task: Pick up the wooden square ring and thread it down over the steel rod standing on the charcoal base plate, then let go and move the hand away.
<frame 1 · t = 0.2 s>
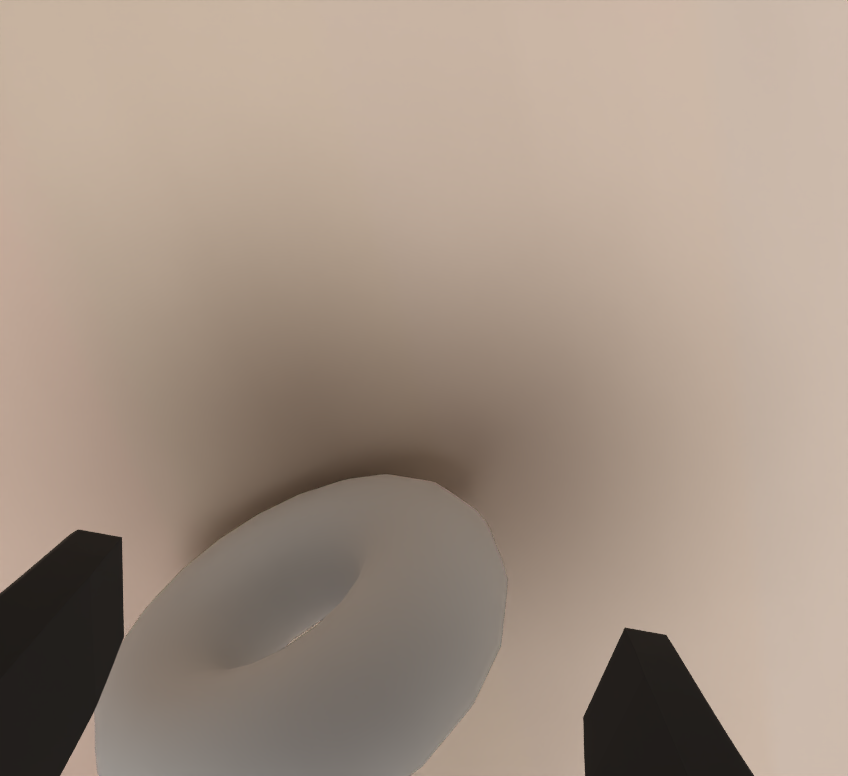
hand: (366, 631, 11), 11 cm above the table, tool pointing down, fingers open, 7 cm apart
donut: (334, 516, 23), on the table
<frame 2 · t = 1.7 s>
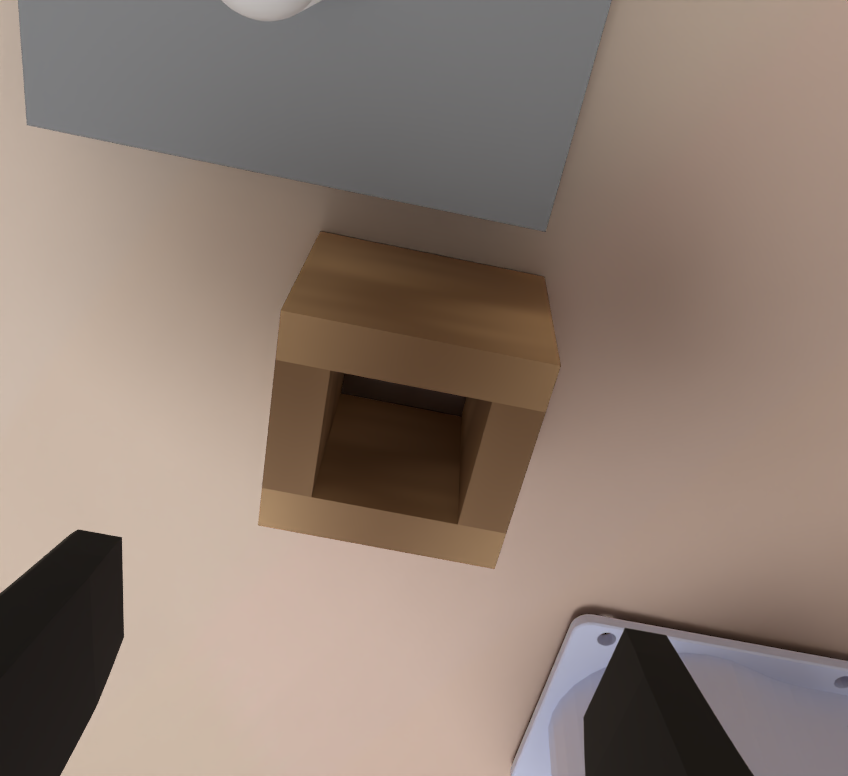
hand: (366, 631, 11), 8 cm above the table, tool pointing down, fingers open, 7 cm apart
wooden square ring: (412, 352, 18), on the table
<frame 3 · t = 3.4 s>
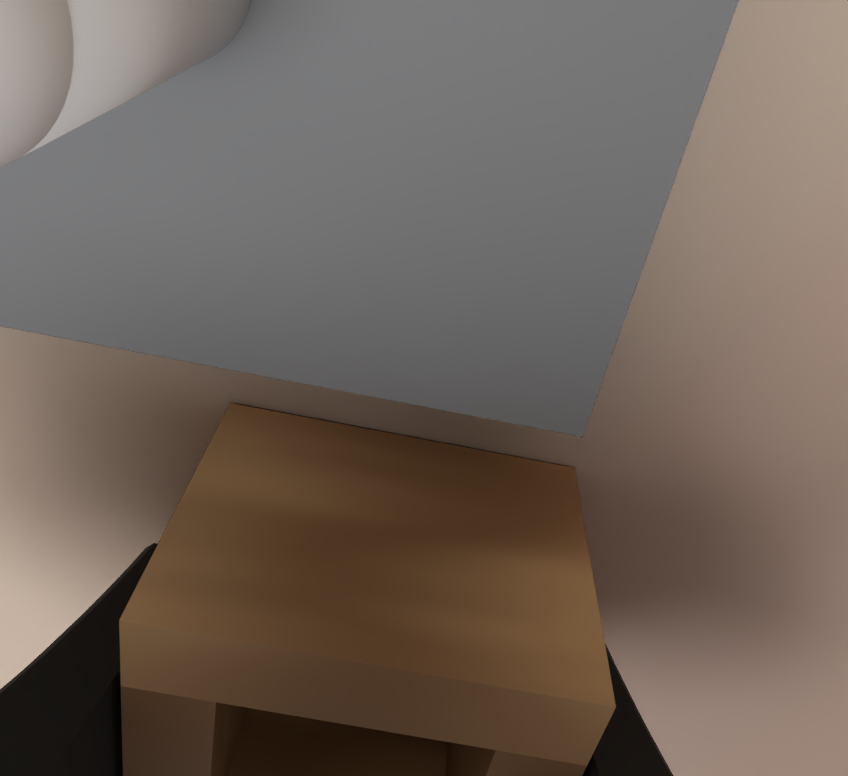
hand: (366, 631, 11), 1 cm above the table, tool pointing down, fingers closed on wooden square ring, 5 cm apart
wooden square ring: (377, 562, 12), on the table, touching gripper
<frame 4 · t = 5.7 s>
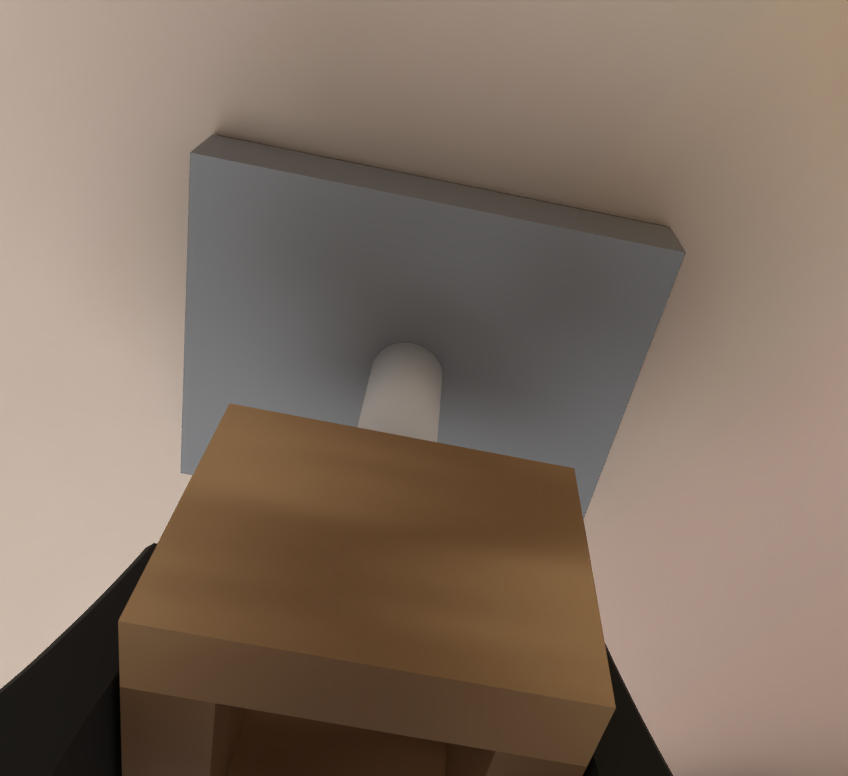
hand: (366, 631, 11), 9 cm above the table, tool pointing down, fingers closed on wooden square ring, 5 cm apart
wooden square ring: (376, 562, 12), point 8 cm above the table, touching gripper
rod stand: (411, 343, 19), on the table
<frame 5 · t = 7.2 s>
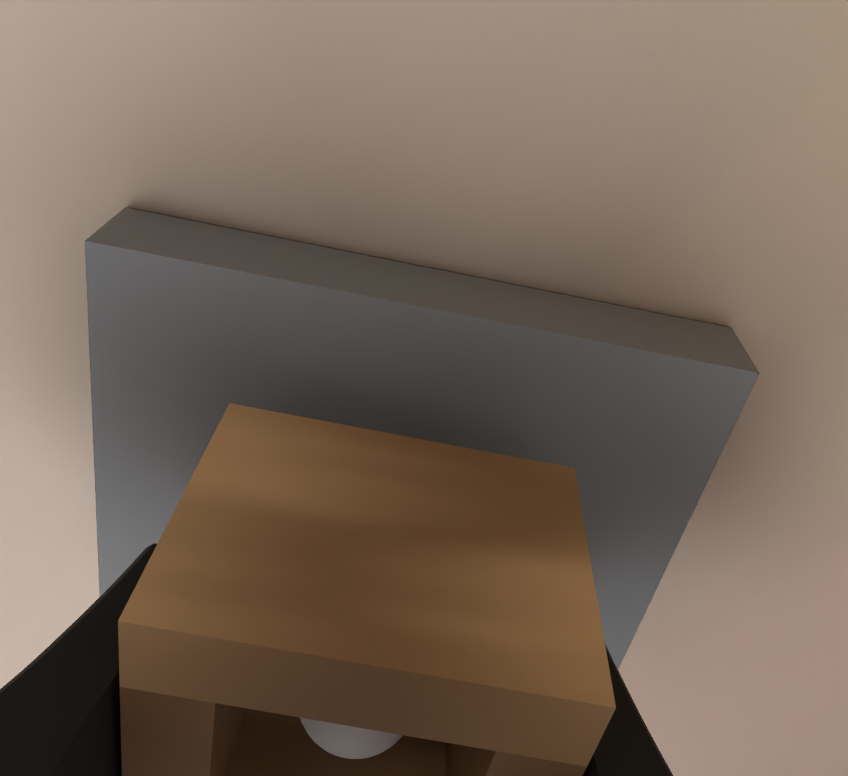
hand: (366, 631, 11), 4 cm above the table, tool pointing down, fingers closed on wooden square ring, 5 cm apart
wooden square ring: (376, 562, 12), point 3 cm above the table, touching gripper
rod stand: (393, 463, 15), on the table
when the fingers open (4 cm above the table, at t = 8.2 s): wooden square ring drops 1 cm, resting on rod stand.
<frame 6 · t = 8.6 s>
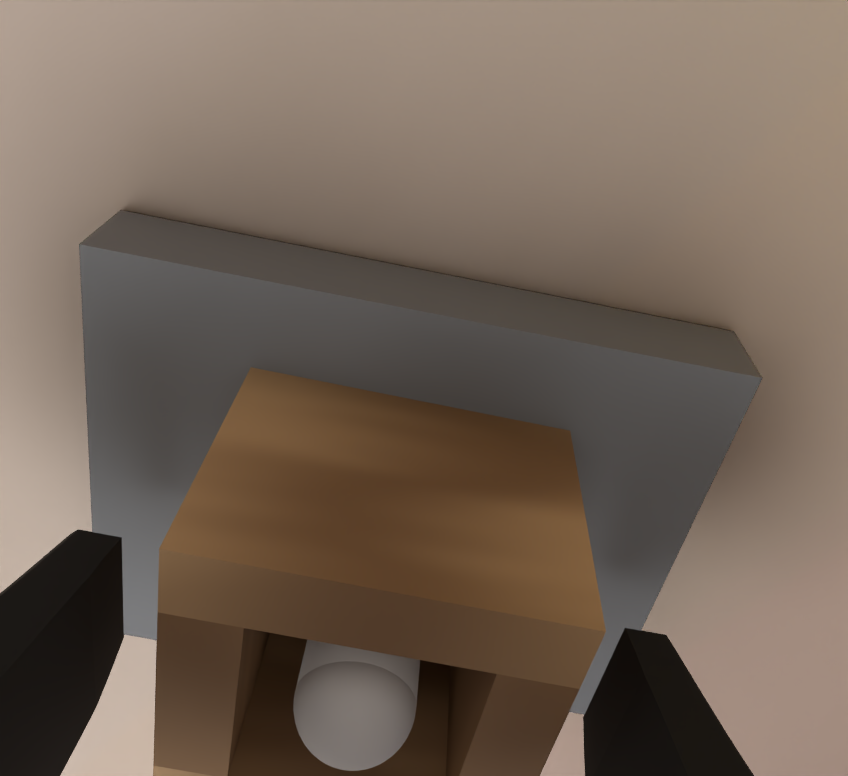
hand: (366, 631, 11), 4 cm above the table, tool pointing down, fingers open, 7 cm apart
wooden square ring: (384, 521, 13), point 1 cm above the table, touching rod stand
rod stand: (392, 468, 15), on the table
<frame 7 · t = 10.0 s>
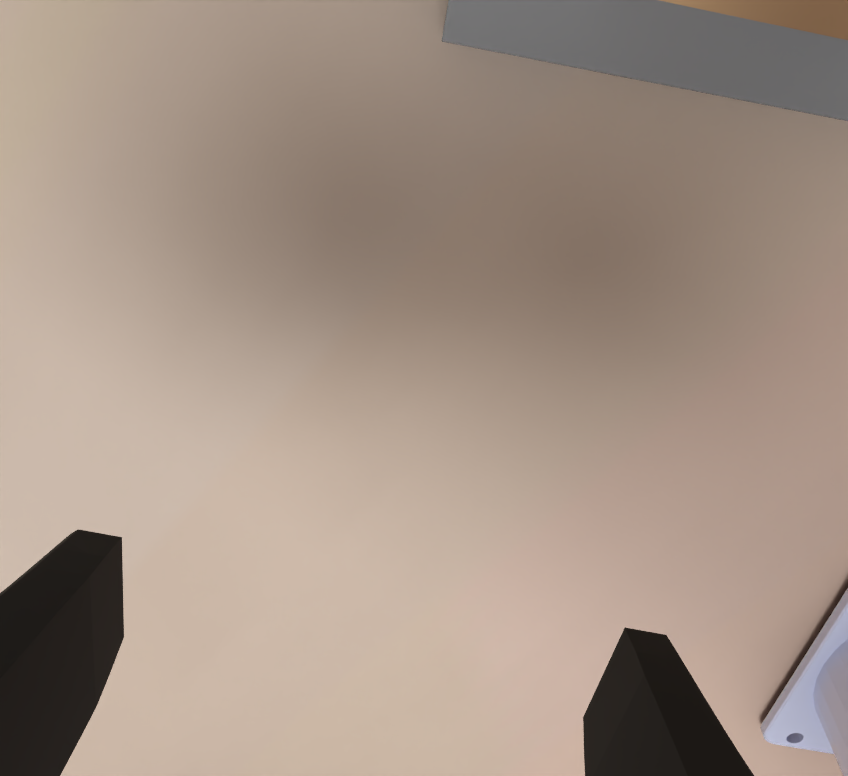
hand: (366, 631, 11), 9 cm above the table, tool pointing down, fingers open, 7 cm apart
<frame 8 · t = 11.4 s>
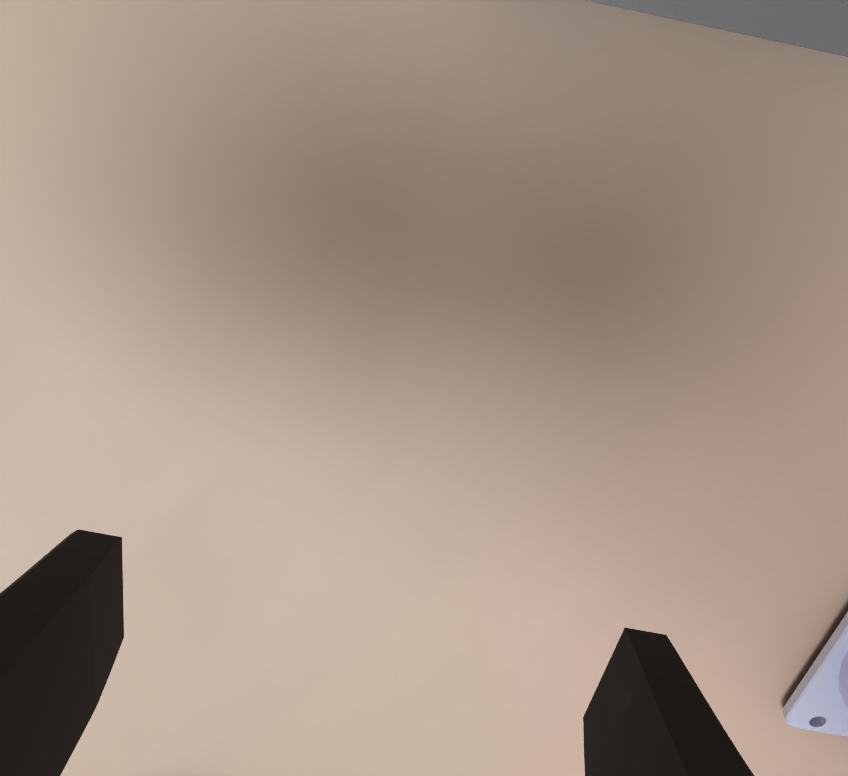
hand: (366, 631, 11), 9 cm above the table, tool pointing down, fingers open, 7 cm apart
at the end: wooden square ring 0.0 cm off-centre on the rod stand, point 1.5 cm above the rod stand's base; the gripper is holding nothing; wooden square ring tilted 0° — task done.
